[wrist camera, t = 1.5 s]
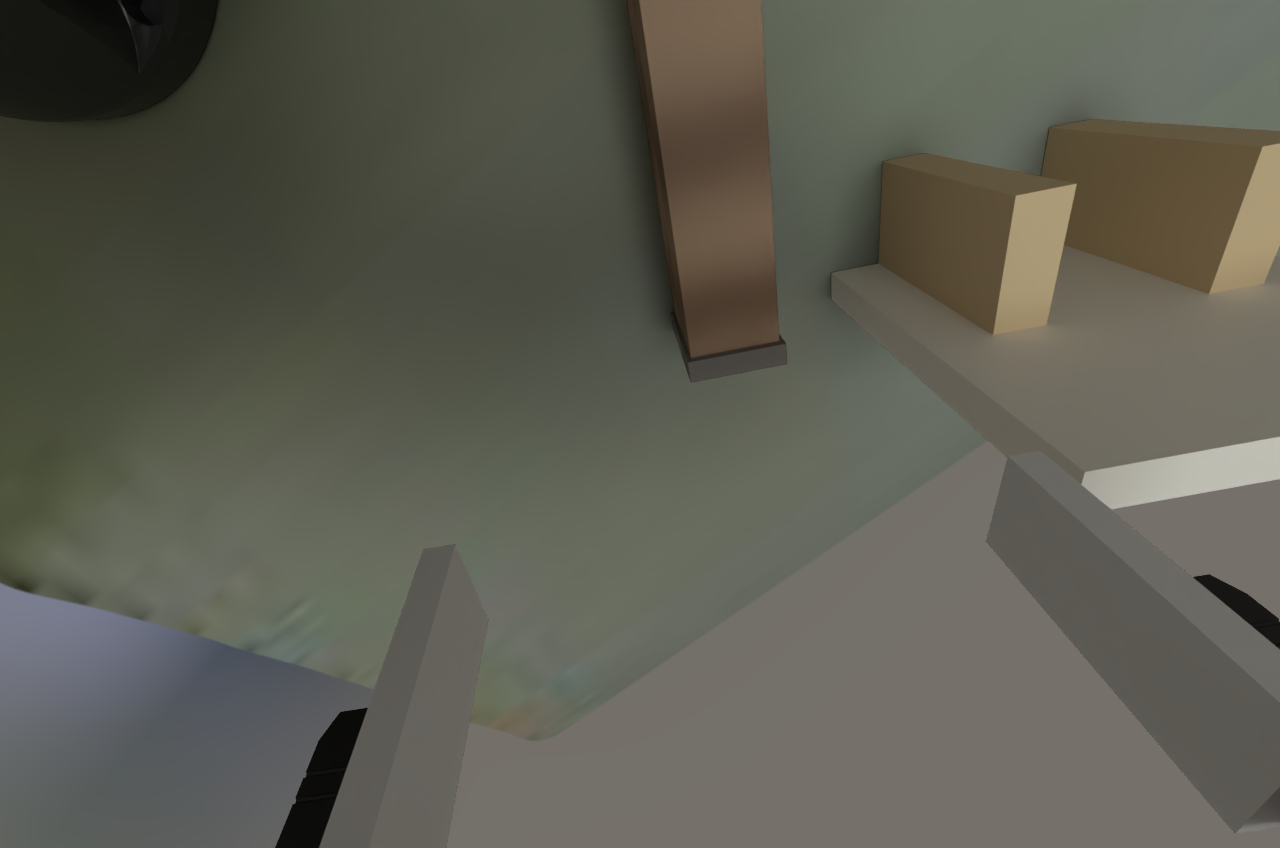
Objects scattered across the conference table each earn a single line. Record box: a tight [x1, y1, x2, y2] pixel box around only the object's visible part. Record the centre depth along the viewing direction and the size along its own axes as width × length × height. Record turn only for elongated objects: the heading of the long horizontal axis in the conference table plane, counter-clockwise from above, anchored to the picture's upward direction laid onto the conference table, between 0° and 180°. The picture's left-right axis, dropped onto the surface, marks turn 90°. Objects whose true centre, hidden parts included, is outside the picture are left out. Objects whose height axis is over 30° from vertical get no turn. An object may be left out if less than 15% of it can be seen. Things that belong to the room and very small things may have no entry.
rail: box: [627, 0, 787, 382], centre depth 23 cm, size 18×4×6 cm, turn 10°
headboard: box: [831, 119, 1280, 509], centre depth 21 cm, size 6×15×18 cm, turn 100°
